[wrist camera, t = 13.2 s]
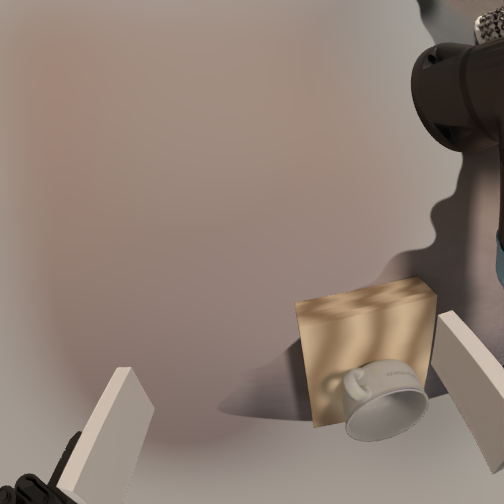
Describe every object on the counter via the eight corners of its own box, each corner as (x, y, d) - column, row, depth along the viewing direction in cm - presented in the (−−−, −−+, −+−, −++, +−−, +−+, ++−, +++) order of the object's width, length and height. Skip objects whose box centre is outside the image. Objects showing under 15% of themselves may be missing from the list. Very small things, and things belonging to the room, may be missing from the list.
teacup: (416, 378, 38) (436, 415, 30) (354, 413, 40) (365, 454, 33) (385, 317, 34) (409, 357, 27) (310, 362, 37) (318, 408, 29)
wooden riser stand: (417, 275, 39) (437, 295, 33) (409, 377, 45) (421, 400, 40) (294, 302, 41) (299, 327, 35) (309, 401, 47) (313, 427, 42)
